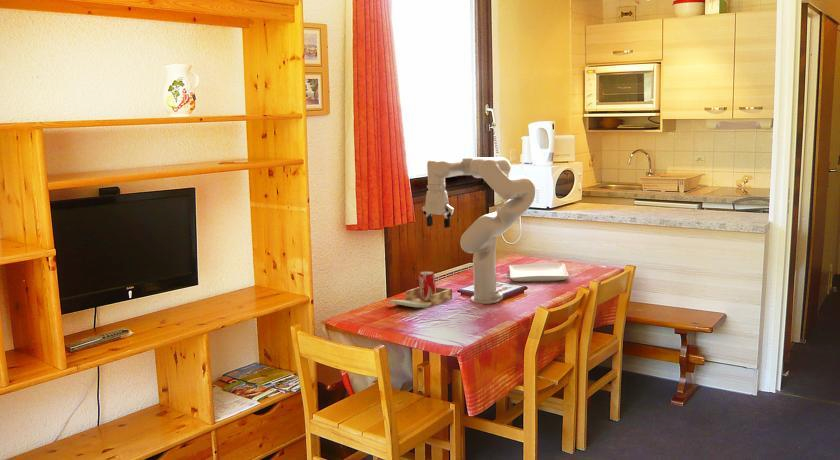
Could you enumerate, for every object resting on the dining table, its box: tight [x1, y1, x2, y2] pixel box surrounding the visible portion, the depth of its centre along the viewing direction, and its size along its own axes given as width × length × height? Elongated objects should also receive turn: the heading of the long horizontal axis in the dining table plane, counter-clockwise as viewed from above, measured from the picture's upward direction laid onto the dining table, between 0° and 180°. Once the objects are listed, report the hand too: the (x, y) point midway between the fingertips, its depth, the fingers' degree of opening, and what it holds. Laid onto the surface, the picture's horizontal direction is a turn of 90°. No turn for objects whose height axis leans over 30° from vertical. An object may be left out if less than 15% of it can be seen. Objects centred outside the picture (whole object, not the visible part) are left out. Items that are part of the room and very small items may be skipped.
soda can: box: [418, 270, 437, 301], centre depth 330 cm, size 7×7×12 cm
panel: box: [388, 299, 432, 308], centre depth 322 cm, size 1×14×11 cm
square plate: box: [508, 262, 570, 283], centre depth 368 cm, size 27×27×4 cm
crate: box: [405, 286, 453, 307], centre depth 331 cm, size 13×15×5 cm
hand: (438, 226), depth 339 cm, fingers open, 9 cm apart
